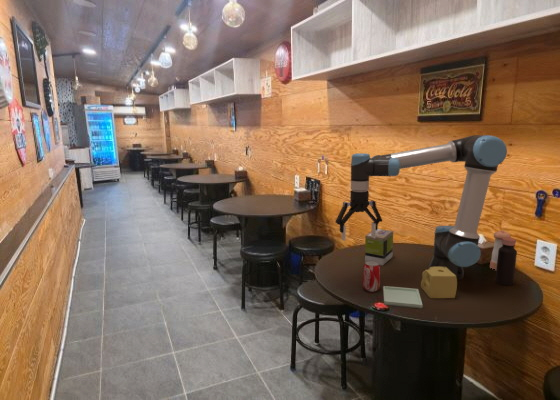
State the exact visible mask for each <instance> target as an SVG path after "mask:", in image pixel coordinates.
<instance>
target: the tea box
mask: <svg viewBox="0 0 560 400" xmlns="http://www.w3.org/2000/svg"><path fill="white" fill-rule="evenodd" d="M364 244H365V245H364V249H365V250H364V263H365V262H366V261H369V260H372V261H377V262H378V263H379V266H384V265H385V264H386V263H387V262H388V261H389V260H390V259H392V258H393V257H394V256H393V255H394V254H393V253H394V231H393V230H388V229H381V228H378V229H377V230H376V235H375V238H372V237H371V231H370V232H369V233H367V234H366V235H365V242H364Z"/></svg>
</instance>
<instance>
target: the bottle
mask: <svg viewBox="0 0 560 400" xmlns="http://www.w3.org/2000/svg"><path fill="white" fill-rule="evenodd" d="M516 241H517V240H516V239H515V238H512V237H511V238H502V247H500V248H499V251H498V260H497V269H496V270H495V278H494V279H495V280H494V281H495V282H496V283H498V284H499V285H502V286H512V285H514V281H515V272H516V271H515V270H516V265H517V263H516V262H517V254H518V251H517V250H516V248H515V246H516Z"/></svg>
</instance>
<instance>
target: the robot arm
mask: <svg viewBox="0 0 560 400" xmlns="http://www.w3.org/2000/svg"><path fill="white" fill-rule="evenodd" d="M507 154H508V148H507V145H506V143H505V142H504V141H503V139H501V138H500V137H497V136H494V135H491V134H490V135H487V134H486V135H485V134H484V135H483V134H482V135H479V134H477V135H476V134H475V135H474V134H473V135H469V136H465V137H462V138H458V139H453V140H449V141H448V142H447V143H444V144H438V145H433V146H427V147H422V148H416V149H409V150H404V151H399V152H392V153H388V154H382V155H381V154H375V155H374V156H372V157H371V155H370V154H369V153H366V152H365V153H359V152H358V153H353V154H352V155H351V161H350V190H351V191H350V195H349V196H350V197H349V198H350V201H349V202H346V201H343V202H342V207H341V209H340V211H339V213H338V215H337V218H336V220H335V224H337V225H339V233H341V240H342V241H346V223H347V222H348V221H349V220H350V218H351V216H352V215H354V214H355V213H364V212H365V213H366V214H367V216H368V217H369V218H370V219H371V221H372V222H371V227H370V228H371V231H370V232H371V237H372V238H375V235H376V230H377V229H379V227H378V224H380V222H381V223H382V221H383V218H382V217H381V214H380V212H379V209H378V208H377V201H375V200H374V199H373V200H370V201H369V197H370V194H369V192H370V191H369V190H370V177H390V178H391V177H397V176H398V175H399V174H400V170H401V169H403V170H404V169H409V168H414V167H420V166H426V165H427V166H428V165H432V164H439V163H444V162H451V163H459V162H461V163H462V162H463V163H464V169H465V170H466V175H465V179H464V184H463V187H462V193H461V196H460V200H459V204H458V205H459V206H458V210H457V214H456V218H455V222H454V225H438V226H436V227H435V229H434V230H435V231H434V240H433V254H432V255H433V256H432V258H431V261H430V263H429V265H428V266H427V267H428V268H427V270H429V268H430V267H447V268H448V269H449V270H450V271H451V272H452V273H453V274H455V275H456V277H457V281H458V280H462V279H463V278H464V276H465V275H464V274H465V271H464V268H469V267H471V266H473V265H475V264H477V262H479V260H480V258H481V253H482V251H481V249H480V247H479V242H480V235H479V234H478V228H479V224H480V221H481V217H482V213H483V208H484V204H485V200H486V197H487V192H488V189H489V183H490V182H491V181H490V180H491V176H492V175H494V174H495V173H497V171H498V168H499V165H500V164H501V163H503V162H504V161H505V159H506V157H507ZM349 206H350V208H349ZM368 207H371V210H372V211H373V213H374V214H373V213H372V212H371V211H370V209H369V208H368ZM348 208H349V209H348ZM347 210H348V211H347ZM461 278H462V279H461Z"/></svg>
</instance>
